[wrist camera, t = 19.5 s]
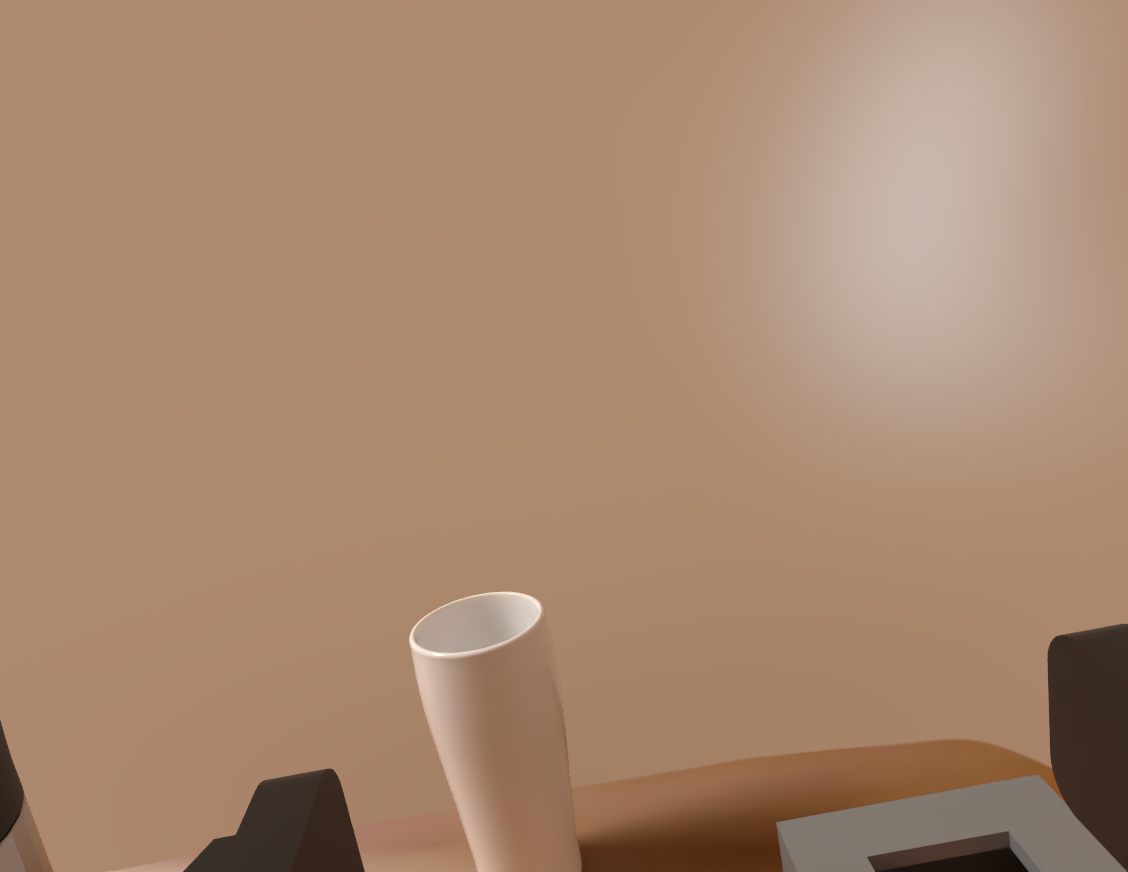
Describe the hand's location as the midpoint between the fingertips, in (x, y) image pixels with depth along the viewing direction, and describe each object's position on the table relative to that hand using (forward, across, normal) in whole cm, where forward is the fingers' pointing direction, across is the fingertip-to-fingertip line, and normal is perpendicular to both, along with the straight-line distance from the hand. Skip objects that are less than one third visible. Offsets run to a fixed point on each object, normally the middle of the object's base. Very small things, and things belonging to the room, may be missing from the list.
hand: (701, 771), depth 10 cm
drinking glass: (+30, +6, +27) cm, 41 cm away
